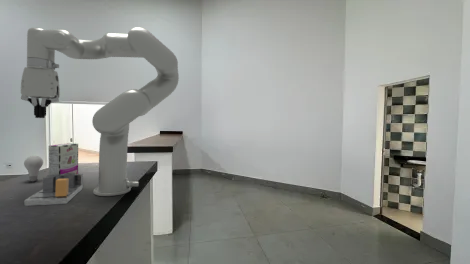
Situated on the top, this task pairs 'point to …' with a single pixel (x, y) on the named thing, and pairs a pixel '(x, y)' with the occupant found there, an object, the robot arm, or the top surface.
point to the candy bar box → (63, 158)
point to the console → (49, 190)
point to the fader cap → (62, 187)
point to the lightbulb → (33, 166)
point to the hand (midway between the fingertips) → (40, 117)
